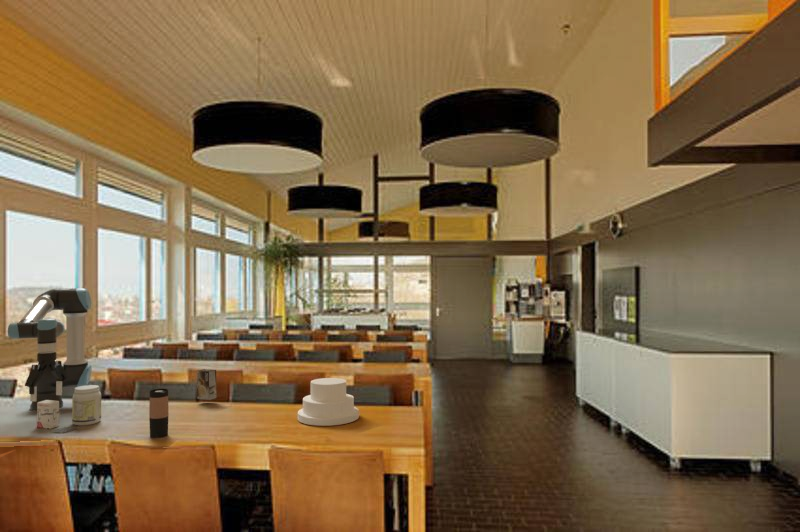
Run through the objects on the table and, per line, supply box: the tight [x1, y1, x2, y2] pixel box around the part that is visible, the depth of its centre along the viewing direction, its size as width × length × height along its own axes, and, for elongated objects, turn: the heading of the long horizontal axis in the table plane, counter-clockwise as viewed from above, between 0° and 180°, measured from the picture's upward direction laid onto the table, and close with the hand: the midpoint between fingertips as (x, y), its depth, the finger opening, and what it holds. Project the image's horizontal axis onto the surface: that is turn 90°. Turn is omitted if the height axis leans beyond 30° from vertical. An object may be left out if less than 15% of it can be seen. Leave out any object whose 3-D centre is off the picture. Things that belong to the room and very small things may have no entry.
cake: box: [297, 377, 360, 427], centre depth 269 cm, size 30×30×18 cm
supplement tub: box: [71, 384, 102, 426], centre depth 261 cm, size 12×12×17 cm
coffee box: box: [196, 368, 217, 401], centre depth 311 cm, size 9×6×16 cm
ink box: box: [36, 400, 60, 430], centre depth 254 cm, size 9×5×12 cm, turn 72°
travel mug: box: [148, 388, 169, 439], centre depth 238 cm, size 8×8×20 cm
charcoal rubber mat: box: [49, 426, 78, 435], centre depth 248 cm, size 8×7×1 cm
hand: (46, 398), depth 254 cm, fingers open, 13 cm apart
